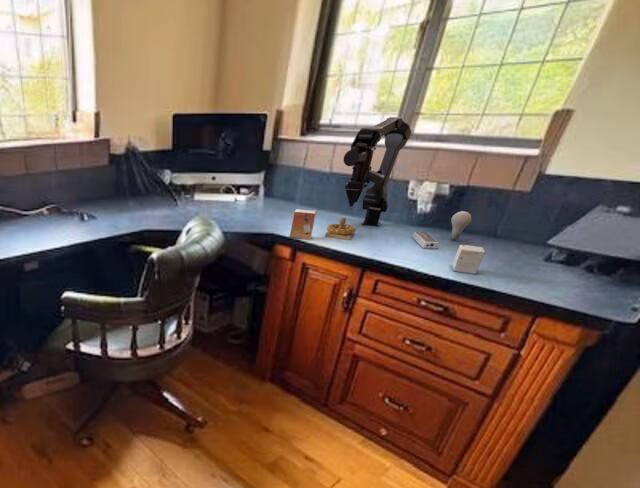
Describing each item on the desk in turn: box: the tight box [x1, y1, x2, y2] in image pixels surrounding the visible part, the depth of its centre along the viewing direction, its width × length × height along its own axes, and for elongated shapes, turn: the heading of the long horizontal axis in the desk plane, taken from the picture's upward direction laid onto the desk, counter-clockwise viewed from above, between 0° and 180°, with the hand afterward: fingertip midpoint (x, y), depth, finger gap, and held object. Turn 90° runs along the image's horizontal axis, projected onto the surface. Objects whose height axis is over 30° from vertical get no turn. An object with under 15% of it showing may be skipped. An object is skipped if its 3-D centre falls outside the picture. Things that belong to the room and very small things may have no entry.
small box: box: [289, 208, 317, 240], centre depth 171 cm, size 8×6×10 cm
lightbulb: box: [450, 210, 472, 241], centre depth 162 cm, size 6×6×11 cm
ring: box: [326, 223, 357, 235], centre depth 173 cm, size 11×11×2 cm
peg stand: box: [325, 216, 354, 240], centre depth 172 cm, size 9×9×7 cm
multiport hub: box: [412, 231, 439, 250], centre depth 162 cm, size 4×14×2 cm, turn 163°
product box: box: [452, 244, 486, 275], centre depth 134 cm, size 6×6×7 cm
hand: (353, 204), depth 172 cm, fingers open, 9 cm apart
